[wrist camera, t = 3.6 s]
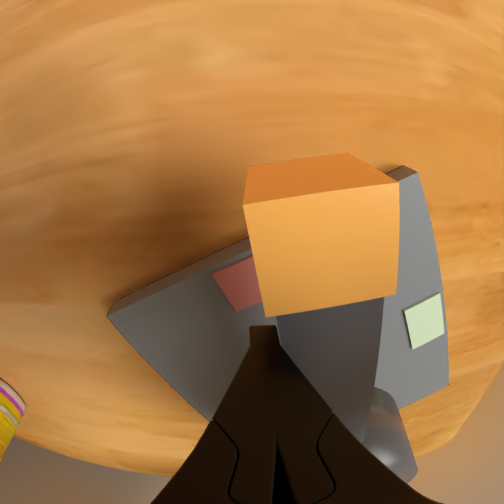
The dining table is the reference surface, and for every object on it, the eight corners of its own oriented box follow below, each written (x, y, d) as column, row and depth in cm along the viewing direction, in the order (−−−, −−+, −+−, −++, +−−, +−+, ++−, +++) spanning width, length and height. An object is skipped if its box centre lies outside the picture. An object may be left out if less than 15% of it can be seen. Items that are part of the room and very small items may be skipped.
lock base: (442, 372, 21) (467, 423, 15) (251, 441, 24) (249, 494, 19) (404, 165, 14) (470, 200, 8) (115, 301, 17) (76, 367, 12)
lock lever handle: (384, 443, 15) (398, 497, 11) (259, 463, 16) (259, 520, 12) (426, 146, 8) (522, 184, 4) (158, 186, 8) (90, 250, 5)
